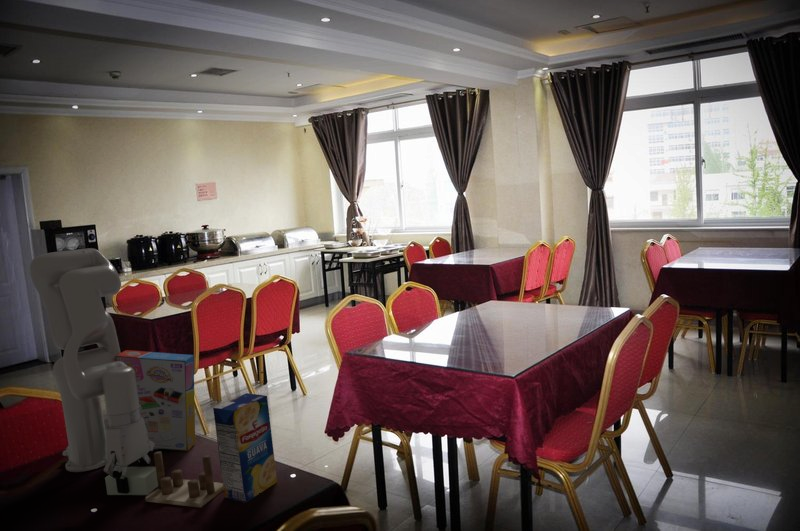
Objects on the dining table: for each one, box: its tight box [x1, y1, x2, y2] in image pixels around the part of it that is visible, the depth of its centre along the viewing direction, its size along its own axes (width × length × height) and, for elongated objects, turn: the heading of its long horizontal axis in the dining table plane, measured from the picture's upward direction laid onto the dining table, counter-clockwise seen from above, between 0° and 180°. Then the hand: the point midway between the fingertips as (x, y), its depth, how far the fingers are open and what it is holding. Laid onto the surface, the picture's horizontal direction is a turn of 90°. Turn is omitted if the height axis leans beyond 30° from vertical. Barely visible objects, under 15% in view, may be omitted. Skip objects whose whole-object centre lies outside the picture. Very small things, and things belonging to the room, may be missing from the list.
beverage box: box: [212, 392, 278, 503], centre depth 149 cm, size 7×11×22 cm, turn 149°
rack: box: [145, 450, 224, 508], centre depth 150 cm, size 16×10×10 cm, turn 70°
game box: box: [116, 349, 196, 452], centre depth 178 cm, size 21×6×27 cm, turn 85°
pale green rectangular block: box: [104, 466, 158, 496], centre depth 156 cm, size 11×6×4 cm, turn 80°
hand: (134, 485), depth 156 cm, fingers closed on pale green rectangular block, 6 cm apart
